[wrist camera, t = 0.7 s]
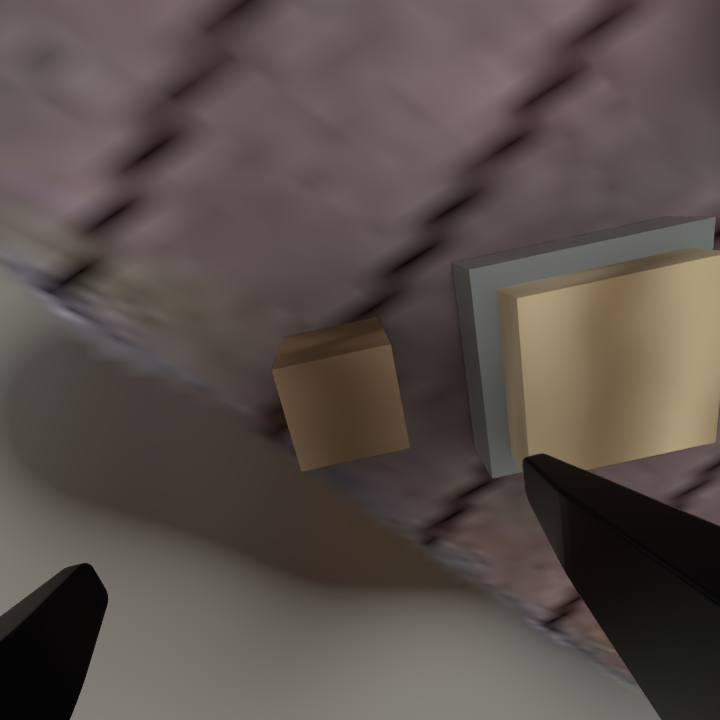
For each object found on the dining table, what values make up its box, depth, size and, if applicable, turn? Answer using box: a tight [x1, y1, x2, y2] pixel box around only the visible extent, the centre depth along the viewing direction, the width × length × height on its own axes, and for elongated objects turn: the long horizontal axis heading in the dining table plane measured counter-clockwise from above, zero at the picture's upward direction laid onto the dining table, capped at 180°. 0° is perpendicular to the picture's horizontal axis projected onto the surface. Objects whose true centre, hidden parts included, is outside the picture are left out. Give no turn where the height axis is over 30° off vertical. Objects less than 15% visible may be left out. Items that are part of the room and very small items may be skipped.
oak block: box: [496, 248, 720, 471], centre depth 17 cm, size 8×8×2 cm
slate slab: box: [452, 217, 716, 478], centre depth 20 cm, size 10×10×2 cm
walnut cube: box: [272, 317, 410, 472], centre depth 18 cm, size 4×4×4 cm
